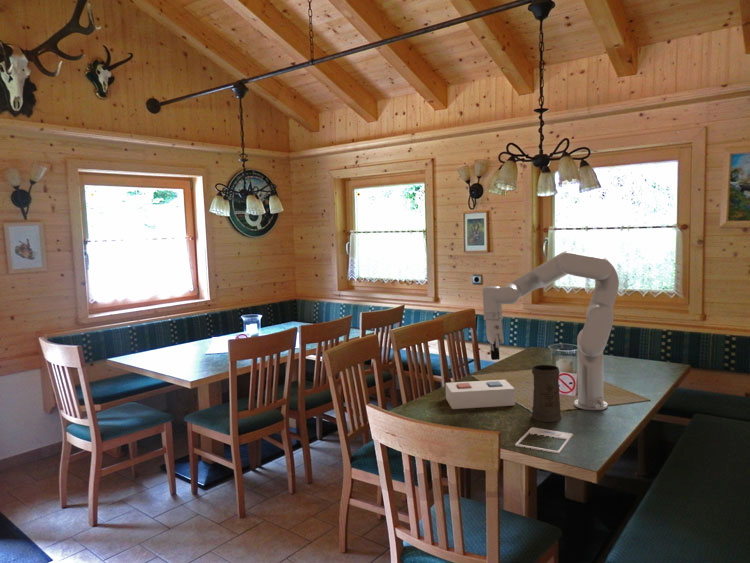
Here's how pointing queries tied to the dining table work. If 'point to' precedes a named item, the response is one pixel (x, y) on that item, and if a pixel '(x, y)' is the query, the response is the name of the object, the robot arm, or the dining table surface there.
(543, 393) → the beer stein
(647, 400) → the dining table surface
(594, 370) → the robot arm
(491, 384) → the blue key
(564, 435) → the photo frame
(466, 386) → the red key
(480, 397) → the key console
